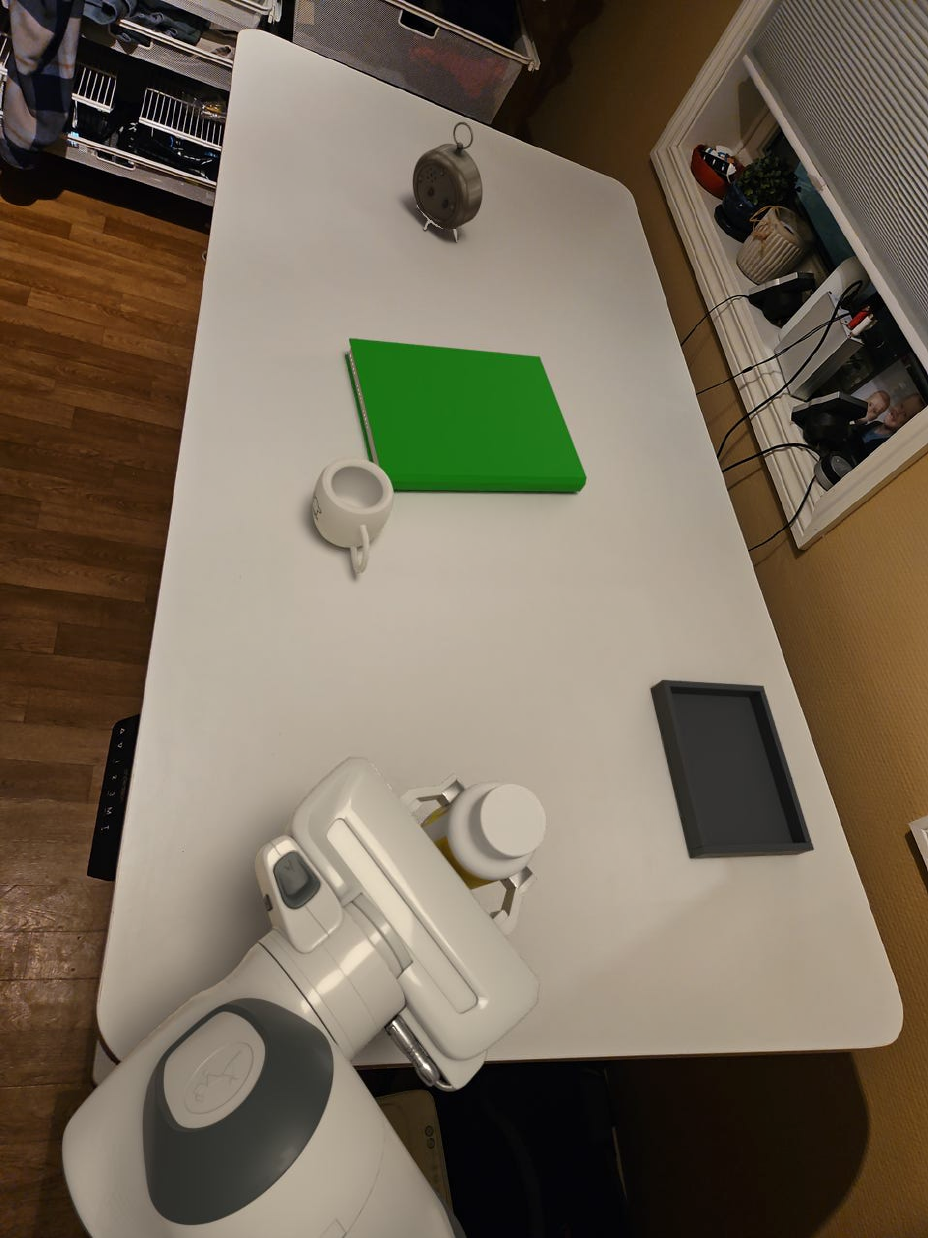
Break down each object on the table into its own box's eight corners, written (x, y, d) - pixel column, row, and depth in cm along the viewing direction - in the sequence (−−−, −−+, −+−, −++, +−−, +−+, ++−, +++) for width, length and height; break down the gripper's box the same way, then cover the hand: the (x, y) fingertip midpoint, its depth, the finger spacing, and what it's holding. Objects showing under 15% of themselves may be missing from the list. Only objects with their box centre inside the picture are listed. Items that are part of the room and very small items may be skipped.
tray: (797, 854, 81) (814, 849, 79) (689, 858, 76) (704, 854, 74) (749, 693, 90) (763, 685, 88) (650, 688, 86) (662, 679, 83)
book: (345, 355, 95) (349, 337, 93) (531, 372, 106) (539, 356, 104) (377, 493, 86) (383, 477, 83) (577, 494, 97) (588, 480, 95)
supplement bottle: (484, 902, 57) (554, 884, 46) (404, 883, 55) (457, 861, 44) (496, 817, 60) (565, 782, 49) (421, 798, 58) (474, 757, 48)
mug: (300, 496, 82) (311, 451, 76) (372, 496, 85) (388, 452, 79) (318, 587, 77) (331, 547, 71) (393, 583, 81) (412, 544, 74)
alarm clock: (467, 243, 117) (505, 142, 103) (447, 253, 114) (483, 150, 100) (418, 202, 118) (449, 96, 104) (397, 210, 115) (426, 102, 101)
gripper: (460, 1119, 41) (608, 943, 48) (247, 828, 44) (416, 702, 51) (429, 1102, 46) (566, 946, 53) (241, 844, 49) (395, 729, 56)
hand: (491, 825), depth 52 cm, fingers closed on supplement bottle, 6 cm apart
